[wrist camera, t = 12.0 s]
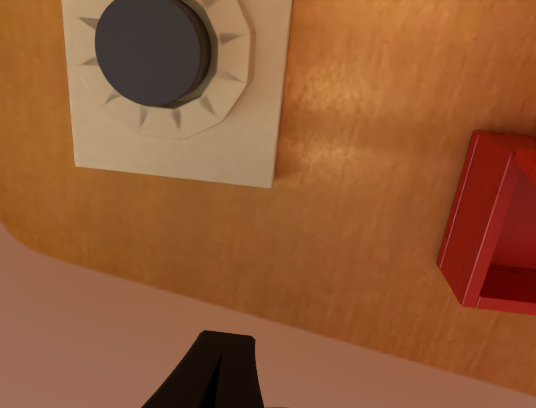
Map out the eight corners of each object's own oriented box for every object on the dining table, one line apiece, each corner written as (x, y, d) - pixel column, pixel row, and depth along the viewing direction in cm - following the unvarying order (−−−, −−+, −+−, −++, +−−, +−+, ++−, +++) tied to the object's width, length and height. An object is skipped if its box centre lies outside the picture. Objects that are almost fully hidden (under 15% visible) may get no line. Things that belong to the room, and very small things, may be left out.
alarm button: (209, 104, 16) (199, 111, 15) (117, 93, 16) (97, 100, 15) (214, 0, 15) (203, -4, 13) (112, -10, 15) (90, -15, 13)
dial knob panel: (273, 180, 20) (269, 204, 17) (86, 159, 20) (52, 179, 17) (303, -98, 16) (304, -125, 13) (66, -120, 16) (18, -151, 13)
